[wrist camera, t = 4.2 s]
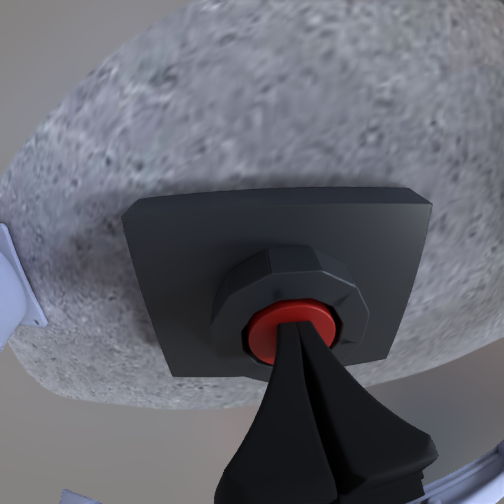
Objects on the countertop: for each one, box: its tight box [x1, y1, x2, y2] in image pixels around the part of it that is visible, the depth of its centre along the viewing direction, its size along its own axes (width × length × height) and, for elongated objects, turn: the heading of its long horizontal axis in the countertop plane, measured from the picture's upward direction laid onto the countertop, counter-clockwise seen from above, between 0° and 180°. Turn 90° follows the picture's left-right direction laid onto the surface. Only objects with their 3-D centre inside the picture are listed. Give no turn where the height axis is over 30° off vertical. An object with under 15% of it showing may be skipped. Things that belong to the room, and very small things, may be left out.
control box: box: [121, 187, 433, 382], centre depth 13 cm, size 13×10×4 cm
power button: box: [248, 298, 335, 364], centre depth 12 cm, size 4×4×2 cm
